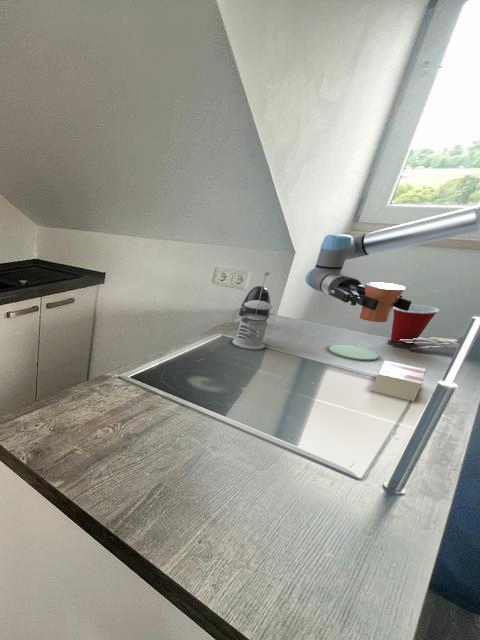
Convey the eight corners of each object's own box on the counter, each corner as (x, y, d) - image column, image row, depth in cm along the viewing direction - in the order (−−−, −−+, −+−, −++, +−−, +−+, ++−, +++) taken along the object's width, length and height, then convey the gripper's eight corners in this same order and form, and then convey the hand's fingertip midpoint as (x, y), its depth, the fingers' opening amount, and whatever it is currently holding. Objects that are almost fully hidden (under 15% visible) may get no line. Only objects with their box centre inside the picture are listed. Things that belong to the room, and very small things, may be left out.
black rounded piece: (241, 328, 149) (250, 289, 142) (232, 319, 158) (241, 282, 152) (271, 329, 146) (282, 289, 140) (260, 320, 156) (270, 283, 150)
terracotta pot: (380, 315, 119) (393, 283, 115) (398, 324, 112) (413, 289, 108) (348, 313, 121) (359, 282, 117) (364, 322, 114) (376, 288, 110)
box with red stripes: (377, 376, 110) (384, 360, 108) (418, 385, 104) (425, 369, 102) (371, 390, 102) (378, 373, 100) (413, 401, 97) (422, 383, 95)
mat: (364, 347, 129) (364, 346, 128) (386, 361, 118) (387, 360, 118) (321, 344, 132) (322, 343, 131) (340, 358, 121) (340, 357, 121)
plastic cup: (381, 333, 140) (394, 300, 135) (424, 340, 133) (439, 306, 128) (378, 341, 133) (392, 307, 128) (423, 349, 126) (439, 313, 121)
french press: (258, 351, 128) (278, 275, 118) (221, 342, 136) (237, 270, 126) (269, 344, 133) (289, 271, 123) (234, 335, 142) (250, 266, 132)
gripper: (371, 298, 130) (427, 319, 110) (304, 297, 134) (346, 317, 113) (379, 275, 127) (439, 293, 107) (311, 275, 130) (355, 292, 110)
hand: (391, 305), depth 110 cm, fingers closed on terracotta pot, 7 cm apart
